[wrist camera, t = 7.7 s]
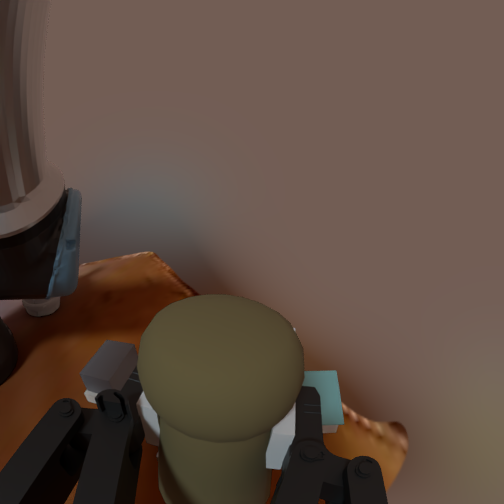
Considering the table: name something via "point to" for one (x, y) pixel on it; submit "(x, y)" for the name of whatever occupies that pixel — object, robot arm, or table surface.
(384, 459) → the table surface
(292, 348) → the cork
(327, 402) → the beam
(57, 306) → the mug
